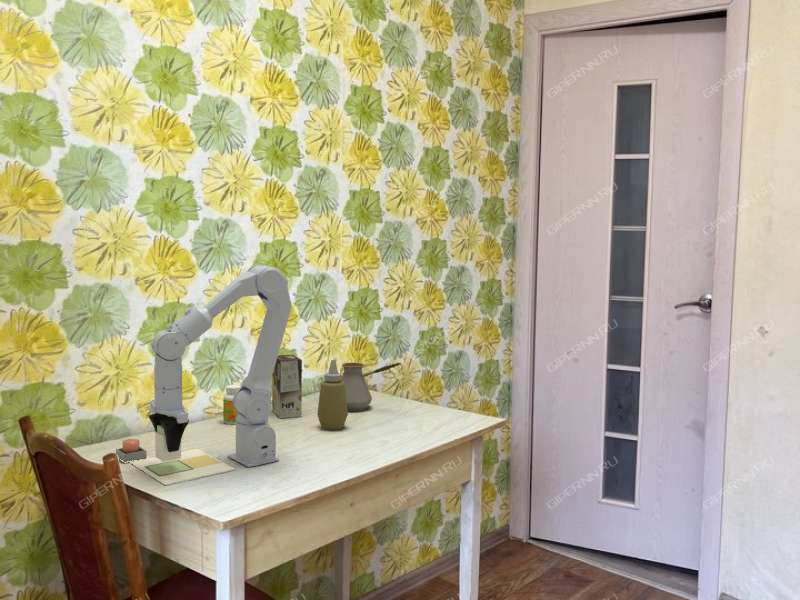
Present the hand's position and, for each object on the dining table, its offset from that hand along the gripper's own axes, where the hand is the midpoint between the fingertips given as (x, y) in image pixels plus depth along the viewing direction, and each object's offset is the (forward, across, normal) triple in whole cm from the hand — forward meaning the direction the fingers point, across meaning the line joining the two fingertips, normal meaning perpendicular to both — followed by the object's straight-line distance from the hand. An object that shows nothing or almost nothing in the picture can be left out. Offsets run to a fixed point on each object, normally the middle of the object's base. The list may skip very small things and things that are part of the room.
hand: (168, 448), depth 164 cm
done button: (+3, -12, -4) cm, 13 cm away
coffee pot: (+5, -15, +67) cm, 69 cm away
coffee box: (+5, -25, +46) cm, 53 cm away
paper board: (+5, 0, +3) cm, 5 cm away
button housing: (+5, -12, -4) cm, 13 cm away
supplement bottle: (+5, -26, +30) cm, 40 cm away
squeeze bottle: (+5, -6, +48) cm, 49 cm away
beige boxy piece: (+2, 0, 0) cm, 2 cm away
